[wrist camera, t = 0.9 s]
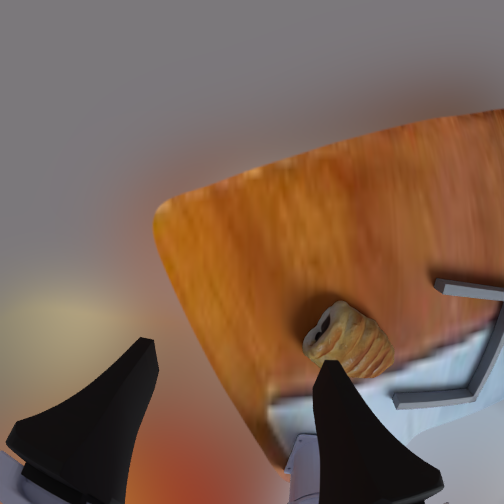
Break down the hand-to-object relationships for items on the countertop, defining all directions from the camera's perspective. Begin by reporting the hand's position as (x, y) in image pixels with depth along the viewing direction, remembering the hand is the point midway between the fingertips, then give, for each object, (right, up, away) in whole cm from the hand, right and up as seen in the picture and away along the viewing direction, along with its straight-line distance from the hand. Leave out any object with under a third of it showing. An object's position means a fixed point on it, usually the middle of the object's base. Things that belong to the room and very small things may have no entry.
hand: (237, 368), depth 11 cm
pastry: (+10, -3, +15) cm, 18 cm away
